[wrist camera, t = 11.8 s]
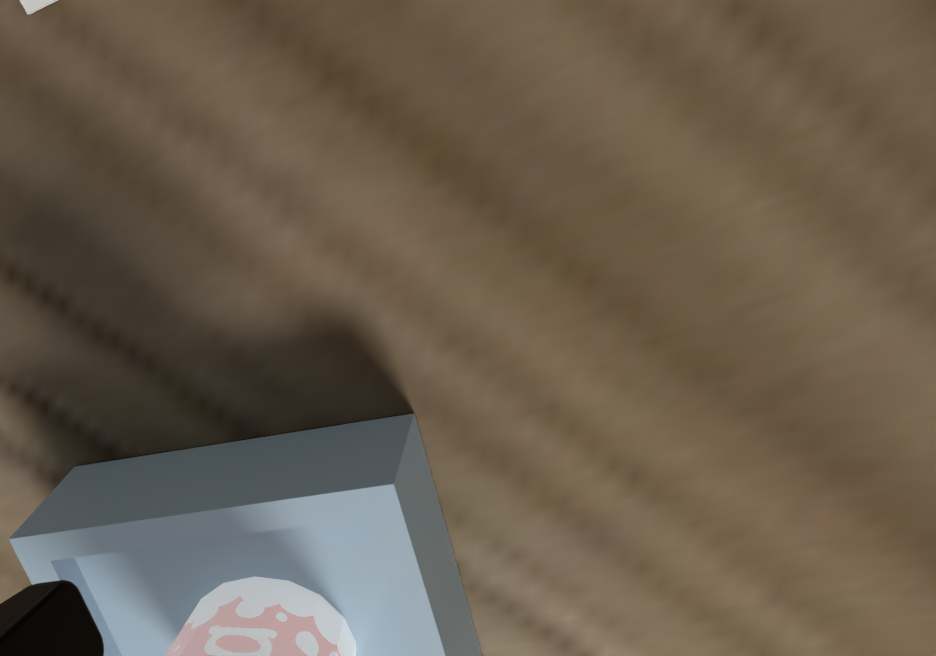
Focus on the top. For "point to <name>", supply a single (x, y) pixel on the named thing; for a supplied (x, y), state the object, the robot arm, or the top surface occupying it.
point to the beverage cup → (264, 623)
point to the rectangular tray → (260, 536)
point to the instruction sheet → (35, 5)
